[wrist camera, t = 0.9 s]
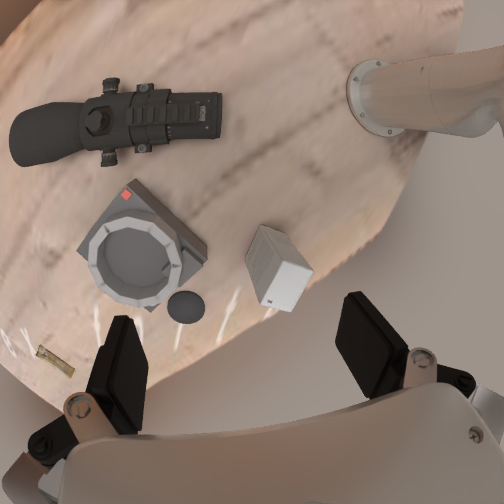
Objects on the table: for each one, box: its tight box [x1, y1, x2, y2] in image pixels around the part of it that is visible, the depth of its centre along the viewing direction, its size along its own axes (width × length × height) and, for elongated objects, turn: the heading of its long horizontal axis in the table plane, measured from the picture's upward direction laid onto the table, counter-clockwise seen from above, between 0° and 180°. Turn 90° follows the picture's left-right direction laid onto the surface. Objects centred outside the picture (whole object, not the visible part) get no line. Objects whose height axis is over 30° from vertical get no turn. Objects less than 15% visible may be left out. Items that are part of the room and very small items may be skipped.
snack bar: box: [36, 344, 75, 378], centre depth 43 cm, size 10×2×3 cm, turn 44°
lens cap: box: [167, 291, 205, 324], centre depth 42 cm, size 6×6×1 cm
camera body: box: [76, 179, 207, 312], centre depth 34 cm, size 12×14×8 cm
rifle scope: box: [9, 78, 222, 167], centre depth 25 cm, size 10×26×10 cm, turn 87°
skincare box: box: [245, 225, 314, 312], centre depth 35 cm, size 6×4×12 cm
